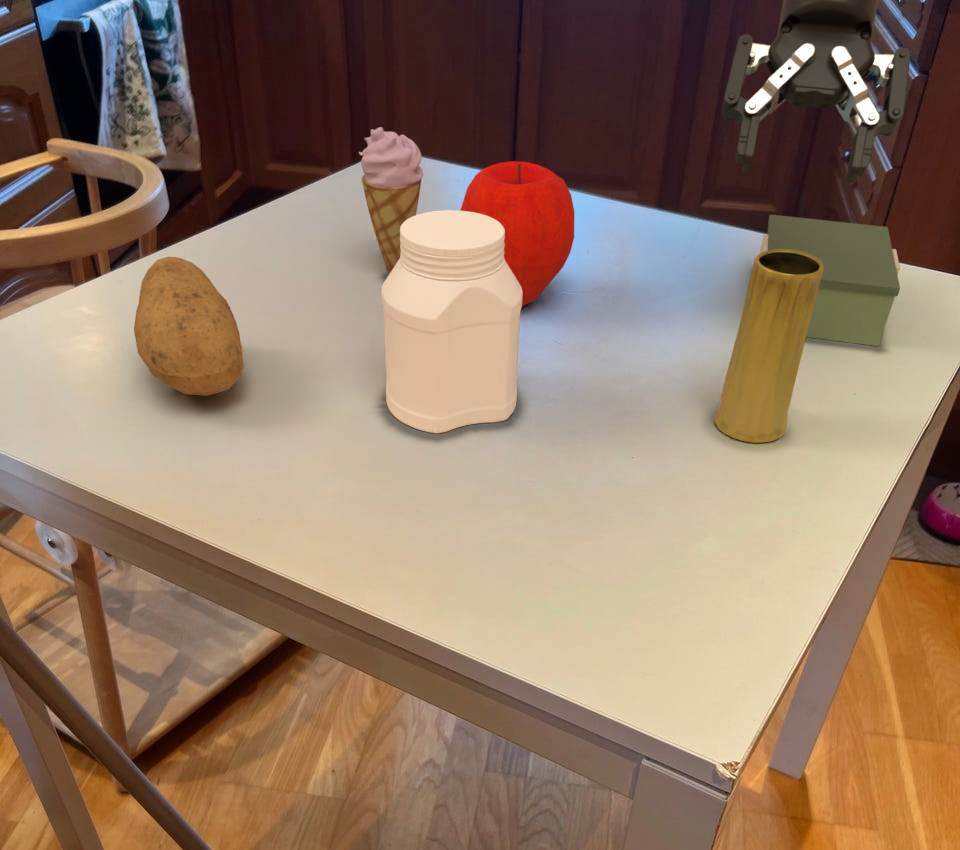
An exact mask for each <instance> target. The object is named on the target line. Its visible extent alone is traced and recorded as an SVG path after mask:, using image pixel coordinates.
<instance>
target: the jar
mask: <svg viewBox="0 0 960 850" xmlns="http://www.w3.org/2000/svg"><path fill="white" fill-rule="evenodd" d="M504 239H505V230H504V227H503V226H502V224H501V223H500V222H498V221H497V220H495V219H493V218H491V217H489V216H486V215H483V214H479V213H475V212H469V211H460V210H458V209H454V210H453V209H445V210H444V209H442V210H432V211H425V212H423V213H418V214H416V215H415V216H413V217H411V218H409V219H407V220H406V221H405V222H403V224H402V225H401V227H400V243H401V244H400V249H401V252H400V259H399V260H398V262H397V263H396V265H395V266H394V268H393V269H392V271H391V272H390V274H389V275H387V277H386V279H385V280H384V282H383V283H382V286H381V292H380V294H381V305H382V311H383V329H384V330H383V332H384V351H385V372H386V373H385V375H386V377H385V378H386V384H385V400H386V405H387V408H388V410H389V411H390V413H391V414H392V416H394V417H395V418H396V419H397V420H398V421H400V422H401V423H403V424H404V425H407V426H409V427H411V428H413V429H416V430H419V431H422V432H427V433H432V434H440V433H441V434H442V433H446V432H449V431H452V430H455V429H458V428H461V427H465V426H470V425H476V424H486V423H487V424H488V423H498V422H503V421H506V420H508V418H510V417H511V415H512V414H513V413H514V411H515V409H516V406H517V402H518V401H517V399H518V386H517V376H518V364H519V363H518V361H519V342H520V327H521V326H520V325H521V310H522V308H523V306H522V296H523V292H522V288H521V286H520V284H519V282H518V281H517V279H516V277H515V276H514V274H513V273H512V271H511V269H510V268H509V266H508V265H507V263H506V261H505V260H504V246H505V244H504Z"/></svg>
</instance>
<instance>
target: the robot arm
mask: <svg viewBox="0 0 960 850" xmlns="http://www.w3.org/2000/svg"><path fill="white" fill-rule="evenodd" d="M878 5H879V0H783V1H782V6H781V12H780V18H779V23H778V29H777V35H776V37H775V39H774V40H773V41H772V42H771V44H764V43H757V42H754V37H753V36H752V35H751V34H749V33H744V34H743V33H742V34H741V35H740V36H739V37H738V40H737V43H736V48H735V52H734V55H733V58H732V59H733V60H732V63H731V68H730V71H729V75H728V81H727V84H726V87H725V92H724V95H723V96H724V97H723V102H722V108H721V118H722V119H723V120H724V121H729V122H730V121H734V122H735V123H737V124H738V125H739V133H738V141H737V145H736V152H735V157H734V158H735V162H736V164H739V165H742V166H741V172H747V173H750V172H751V169H752V164H753V159H754V155H755V149H756V143H757V137H758V134H759V133H758V132H759V127H760V123H761V122H762V121H763V120H764V119H765V118H766V117H768V115H772V114H773V113H774V112H775V111H776V110H778V108H780V106H781V105H782V104H784V103H785V102H786V101H787V102H789V103H790V107H799V108H802V107H808V106H809V107H810V106H811V107H814V108H817V109H821V110H830V109H831V107H833V106H835V107H836V109H837V111H838V112H839V115H840V116H841V118H842V119H843V121H844V122H846V123H848V124H849V125H850V127H851V129H852V130H853V132H854V134H855V135H854V138H853V140H852V144H851V150H850V155H849V160H848V166H847V172H846V176H845V183H848V184H849V183H850V184H855V183H856V181H857V179H858V177H863V176H864V175H865V173H866V172H867V170H868V167H869V165H870V163H871V159H872V155H873V148H874V142H875V138H876V137H878V136H881V135H883V136H884V137H891V136H892V135H893V136H894V134H895V133H896V130H897V128H898V125H899V123H900V121H901V120H902V118H903V116H904V114H905V108H906V107H905V106H906V99H907V91H908V89H907V88H908V81H909V72H910V62H911V55H912V54H911V50H910V49H909V48H907V47H905V46H902V47H899V48H897V49H896V51H894V52H895V53H894V54H892V53H891V54H890V53H875V50H874V49H873V44H872V38H873V33H874V27H875V21H876V15H877V11H878V10H877V9H878ZM761 64H766V67H767V69H768V71H769V73H770V76H769V77H768V79H767V80H765V82H764V84H763V86H762V87H761V88H760V89H759V90H758V91H757V92H756V93H755V94H754V95H753V96H751V97H750V99H747V98H744V97H743V96H741V95H742V91H743V87H744V83H745V79H746V75H747V76H750V75H751V74H753V73H755V72H756V71H757V69H758V67H759V66H760V65H761ZM870 73H874V74H875V75H876V77H877V82H878V84H879V85H880V87H882V88H884V94H883V104H882V110H881V111H878V110H877V108H876V106H875V105H874V103H873V101H872V100H871V98H870V96H869V89H868V86H867V85H866V82H865V81H864V79H866V78H867V77H868V76H869V74H870Z"/></svg>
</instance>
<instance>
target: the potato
mask: <svg viewBox="0 0 960 850" xmlns="http://www.w3.org/2000/svg"><path fill="white" fill-rule="evenodd" d="M134 318H135V319H134V325H133V331H134V332H133V333H134V338H135V344H136V350H137V354H138V356H139V357H140V358H141V360H142V361H143V363H144V365H145V366H146V367H147V369H148V371H149V372H150V373H151V374H152V375H153V376H155V377H156V378H157V379H158V380H160V381H161V383H163V384H164V385H166V386H168V387H170V388H172V389H174V390H175V391H178V392H180V393H182V394H183V395H190V396H191V395H193V396H206V397H208V396H212V395H214V394H219V393H223V392H224V391H229V390H230V389H231V388H232V387H233V385H234V384H235V383H236V382H237V380H238V379H239V378H240V377H241V375H242V373H243V369H244V366H245V365H244V363H245V362H244V356H243V349H242V348H243V347H242V341H241V336H240V335H241V334H240V331H239V328H238V327H239V326H238V322H237V320H236V318H235V316H234V314H233V311H232V309H231V307H230V305H229V303H228V301H227V299H226V298H225V297H224V296H223V295H222V293H220V292H219V290H218V289H217V288H216V286H215V285H214V283H213V282H212V280H211V279H210V278H209V277H208V276H207V275H206V273H205V272H204V271H203V270H202V268H200V267H198V266H197V265H196V264H194V263H193V262H192V261H190V260H187V259H184V258H180V257H176V256H166V257H163V258H158V259H157V260H156V261H155V262H154V263H153V264H151V266H150V267H148V269H147V270H146V273H145V275H144V277H143V279H142V280H141V285H140V290H139V296H138V304H137V308H136V310H135V317H134Z"/></svg>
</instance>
